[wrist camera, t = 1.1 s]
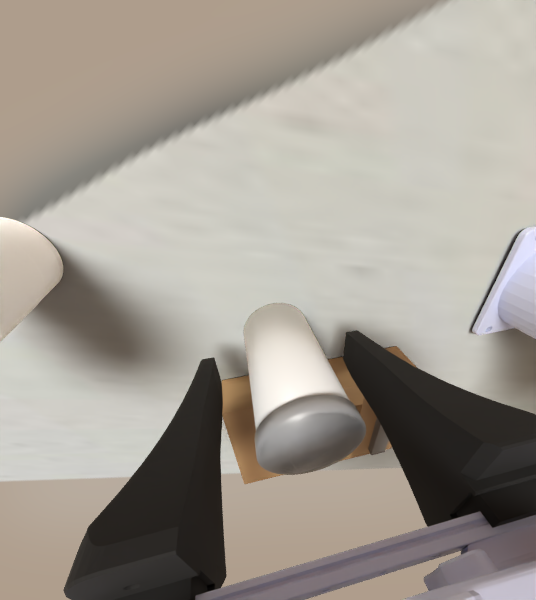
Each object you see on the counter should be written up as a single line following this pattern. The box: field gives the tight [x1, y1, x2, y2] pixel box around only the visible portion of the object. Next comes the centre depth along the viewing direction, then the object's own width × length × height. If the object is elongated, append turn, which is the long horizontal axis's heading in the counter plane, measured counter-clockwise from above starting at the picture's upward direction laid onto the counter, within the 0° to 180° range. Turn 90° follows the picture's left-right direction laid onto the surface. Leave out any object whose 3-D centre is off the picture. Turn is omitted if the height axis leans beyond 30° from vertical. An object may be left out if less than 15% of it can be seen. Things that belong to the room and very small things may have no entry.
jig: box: [222, 346, 417, 484], centre depth 18 cm, size 13×10×3 cm
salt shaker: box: [244, 303, 366, 475], centre depth 11 cm, size 4×4×7 cm
